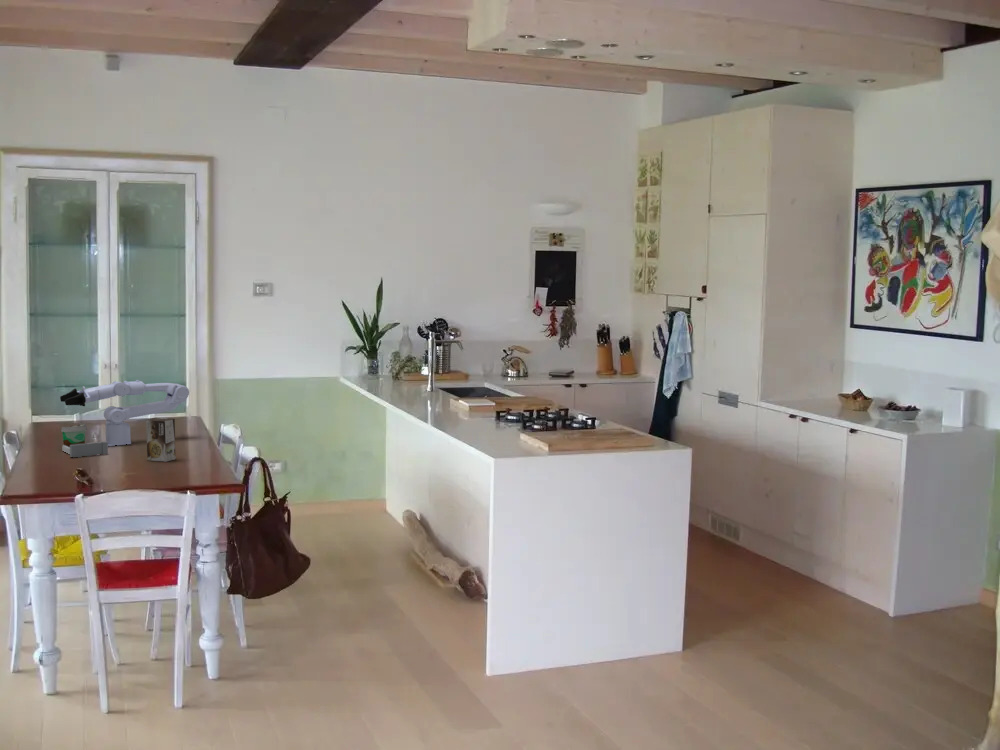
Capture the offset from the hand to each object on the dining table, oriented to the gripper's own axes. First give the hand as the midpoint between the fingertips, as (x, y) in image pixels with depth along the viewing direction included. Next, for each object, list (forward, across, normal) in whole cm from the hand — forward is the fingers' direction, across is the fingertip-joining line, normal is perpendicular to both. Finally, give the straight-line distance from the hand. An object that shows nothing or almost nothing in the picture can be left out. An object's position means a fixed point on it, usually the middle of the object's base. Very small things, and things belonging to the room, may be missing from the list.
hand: (62, 400), depth 423 cm
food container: (-1, +5, +20) cm, 21 cm away
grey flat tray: (-1, +15, +19) cm, 24 cm away
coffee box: (-23, +44, +21) cm, 54 cm away
